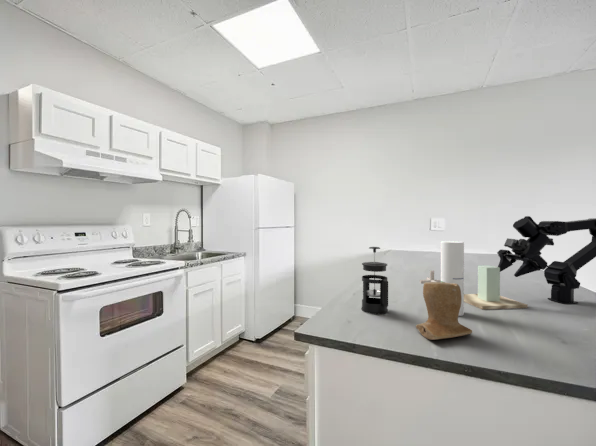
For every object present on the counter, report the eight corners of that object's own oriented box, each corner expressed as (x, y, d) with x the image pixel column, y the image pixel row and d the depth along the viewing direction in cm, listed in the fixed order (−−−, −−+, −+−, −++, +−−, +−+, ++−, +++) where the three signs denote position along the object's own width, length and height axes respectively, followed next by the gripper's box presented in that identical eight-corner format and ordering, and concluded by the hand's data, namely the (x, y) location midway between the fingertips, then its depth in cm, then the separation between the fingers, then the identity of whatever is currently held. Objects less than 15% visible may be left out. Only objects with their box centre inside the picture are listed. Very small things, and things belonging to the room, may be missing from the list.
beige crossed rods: (439, 290, 131) (439, 268, 131) (448, 296, 121) (448, 272, 121) (416, 289, 132) (416, 268, 132) (424, 295, 122) (424, 272, 122)
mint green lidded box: (490, 297, 114) (490, 265, 114) (499, 301, 109) (499, 267, 109) (477, 297, 114) (477, 265, 114) (486, 301, 109) (486, 267, 109)
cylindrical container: (467, 316, 95) (467, 242, 95) (444, 315, 97) (444, 242, 97) (459, 309, 102) (459, 241, 102) (438, 308, 104) (438, 240, 104)
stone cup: (444, 323, 89) (444, 276, 89) (479, 338, 78) (479, 284, 78) (404, 329, 85) (404, 279, 84) (435, 346, 73) (435, 288, 73)
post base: (493, 296, 120) (493, 285, 120) (527, 307, 104) (527, 295, 104) (453, 297, 119) (454, 286, 119) (482, 309, 103) (482, 296, 103)
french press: (355, 307, 106) (355, 246, 106) (375, 304, 109) (375, 245, 109) (375, 317, 95) (374, 249, 95) (397, 313, 99) (397, 248, 98)
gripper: (501, 230, 121) (476, 256, 121) (539, 232, 102) (509, 263, 102) (519, 248, 121) (494, 274, 121) (561, 253, 103) (531, 284, 102)
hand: (505, 273), depth 112 cm, fingers open, 9 cm apart
